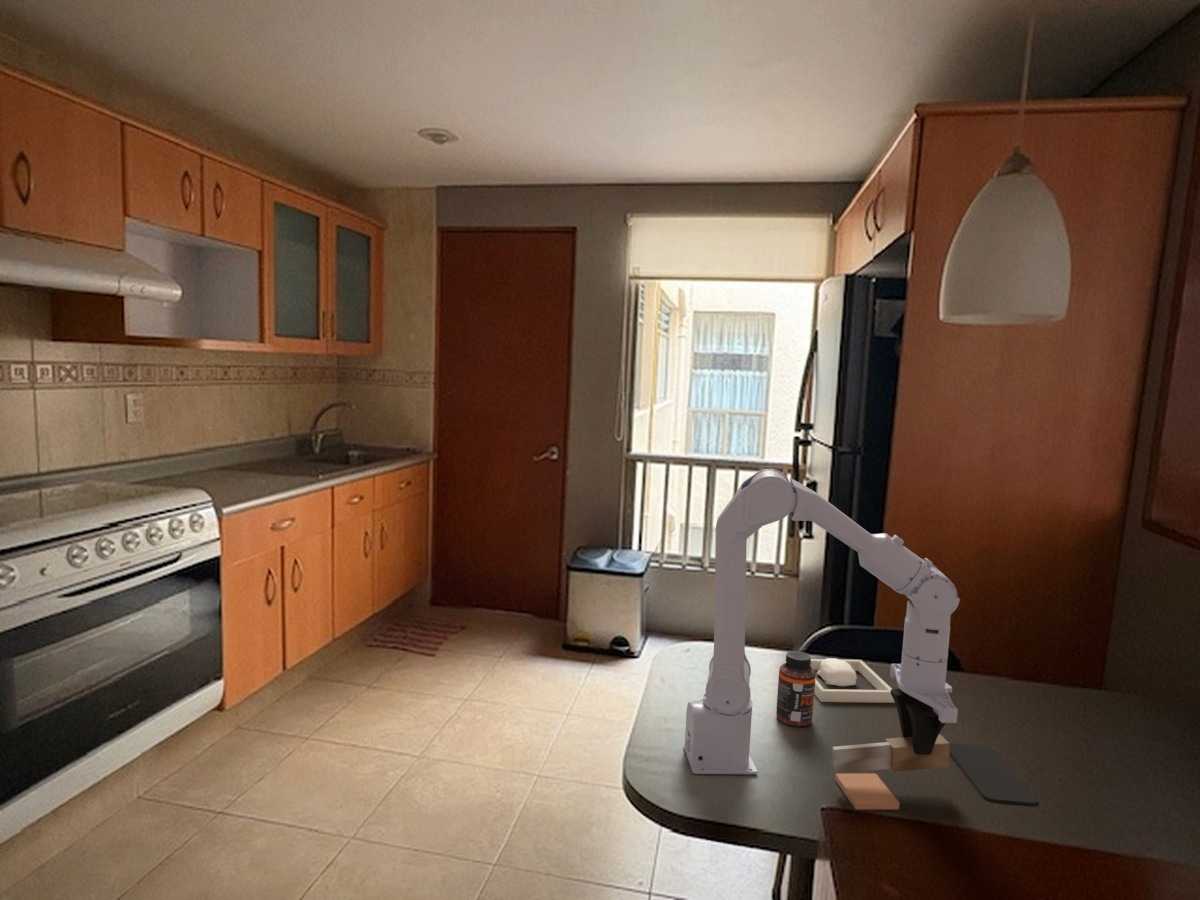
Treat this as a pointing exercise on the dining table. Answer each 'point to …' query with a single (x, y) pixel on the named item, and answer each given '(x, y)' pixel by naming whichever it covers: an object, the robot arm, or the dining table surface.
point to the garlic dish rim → (854, 695)
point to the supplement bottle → (796, 690)
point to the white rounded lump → (837, 672)
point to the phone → (990, 774)
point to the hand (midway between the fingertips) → (916, 747)
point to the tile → (866, 791)
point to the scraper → (889, 756)
